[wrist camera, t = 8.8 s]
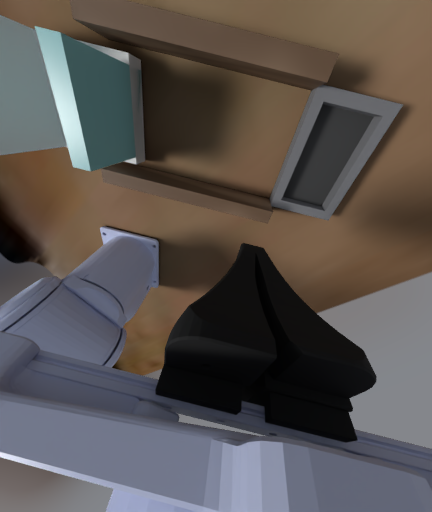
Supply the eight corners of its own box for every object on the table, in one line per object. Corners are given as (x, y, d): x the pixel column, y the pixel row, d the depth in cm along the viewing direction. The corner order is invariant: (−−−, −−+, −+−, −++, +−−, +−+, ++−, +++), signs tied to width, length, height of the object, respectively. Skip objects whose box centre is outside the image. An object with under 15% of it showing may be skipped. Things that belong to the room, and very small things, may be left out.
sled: (145, 161, 18) (92, 180, 12) (68, 141, 18) (-23, 151, 12) (140, 59, 14) (55, 11, 8) (39, 34, 14) (-125, -34, 8)
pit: (323, 214, 19) (328, 220, 18) (268, 200, 19) (269, 205, 18) (389, 106, 14) (403, 104, 12) (312, 86, 14) (319, 83, 12)
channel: (265, 209, 20) (267, 223, 17) (124, 173, 20) (103, 182, 17) (320, 68, 13) (339, 53, 10) (106, 14, 13) (66, -15, 10)
